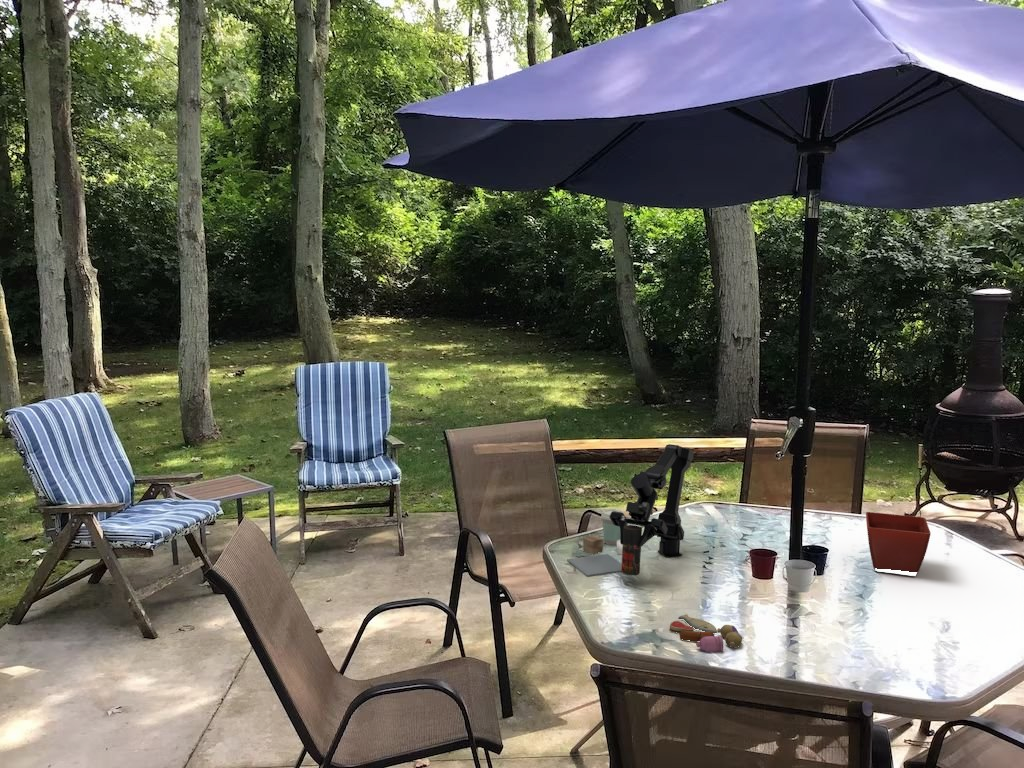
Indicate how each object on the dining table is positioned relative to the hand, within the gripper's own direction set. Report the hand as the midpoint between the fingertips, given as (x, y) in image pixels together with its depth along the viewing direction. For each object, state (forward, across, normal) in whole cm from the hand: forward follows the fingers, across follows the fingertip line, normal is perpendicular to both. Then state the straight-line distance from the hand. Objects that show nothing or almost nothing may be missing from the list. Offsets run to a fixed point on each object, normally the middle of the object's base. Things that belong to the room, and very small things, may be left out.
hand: (630, 545), depth 262 cm
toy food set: (+27, +35, -7) cm, 44 cm away
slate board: (+3, -16, +16) cm, 23 cm away
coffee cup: (-14, -23, +34) cm, 43 cm away
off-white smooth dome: (-10, -14, +29) cm, 34 cm away
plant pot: (-36, +70, +56) cm, 96 cm away
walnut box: (-6, -25, +25) cm, 35 cm away
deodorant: (+6, 0, +7) cm, 10 cm away
